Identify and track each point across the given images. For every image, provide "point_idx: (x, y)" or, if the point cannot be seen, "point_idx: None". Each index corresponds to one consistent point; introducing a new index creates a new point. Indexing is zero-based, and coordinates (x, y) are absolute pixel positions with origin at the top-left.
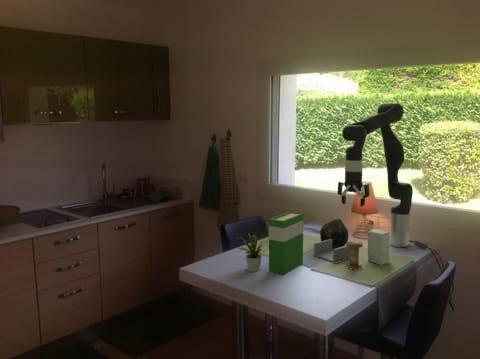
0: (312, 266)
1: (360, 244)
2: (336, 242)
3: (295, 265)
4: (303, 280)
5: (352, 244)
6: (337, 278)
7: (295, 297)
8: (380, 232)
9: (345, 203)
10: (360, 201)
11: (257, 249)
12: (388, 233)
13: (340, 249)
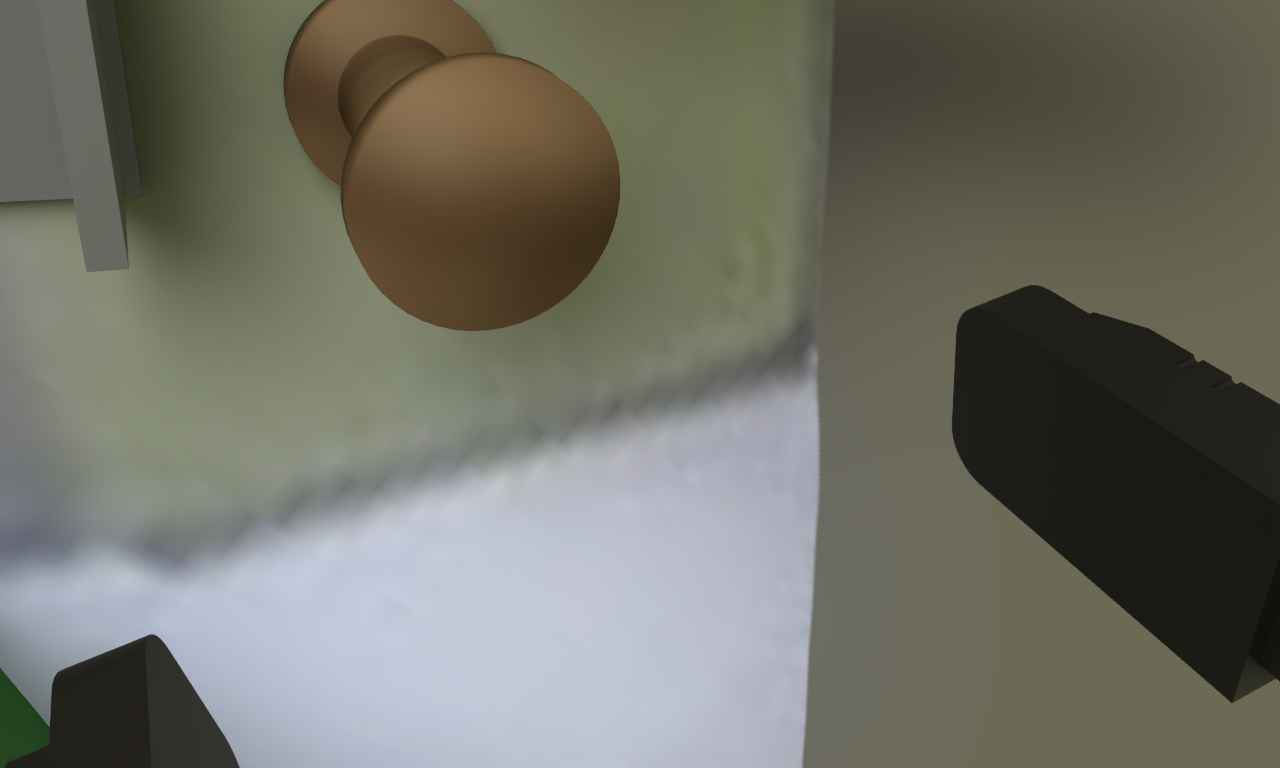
0: (68, 501)
1: (596, 176)
2: None
3: (7, 705)
4: (347, 732)
5: (510, 281)
6: (509, 479)
7: None
8: None
9: (162, 653)
10: (1108, 593)
11: None
12: None
13: (106, 120)
